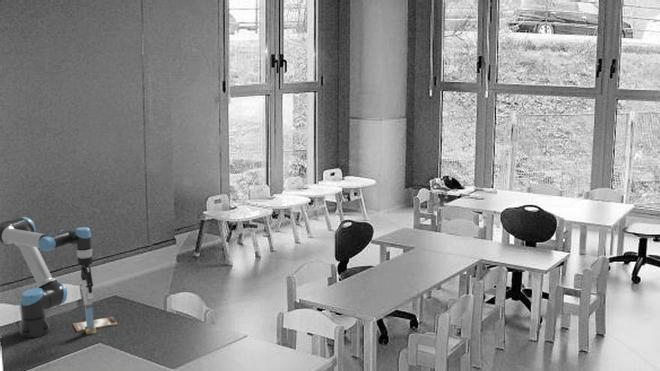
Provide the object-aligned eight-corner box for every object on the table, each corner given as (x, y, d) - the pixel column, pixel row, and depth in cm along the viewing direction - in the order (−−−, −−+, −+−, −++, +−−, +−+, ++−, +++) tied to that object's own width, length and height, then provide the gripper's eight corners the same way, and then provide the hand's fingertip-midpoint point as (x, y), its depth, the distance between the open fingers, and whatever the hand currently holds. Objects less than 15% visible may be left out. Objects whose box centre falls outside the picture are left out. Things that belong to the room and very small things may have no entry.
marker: (87, 331, 432) (85, 305, 429) (86, 329, 435) (84, 303, 432) (94, 330, 433) (92, 304, 431) (93, 328, 437) (91, 302, 434)
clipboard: (77, 332, 435) (76, 329, 435) (72, 324, 448) (72, 321, 447) (118, 324, 445) (118, 322, 445) (112, 317, 457) (112, 315, 457)
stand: (86, 334, 431) (86, 329, 431) (85, 331, 436) (84, 326, 435) (96, 332, 433) (95, 327, 433) (94, 330, 438) (94, 324, 437)
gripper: (96, 261, 418) (99, 300, 422) (87, 250, 440) (90, 287, 444) (82, 263, 415) (85, 302, 419) (73, 252, 437) (76, 290, 440)
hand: (88, 295), depth 431 cm, fingers open, 13 cm apart
